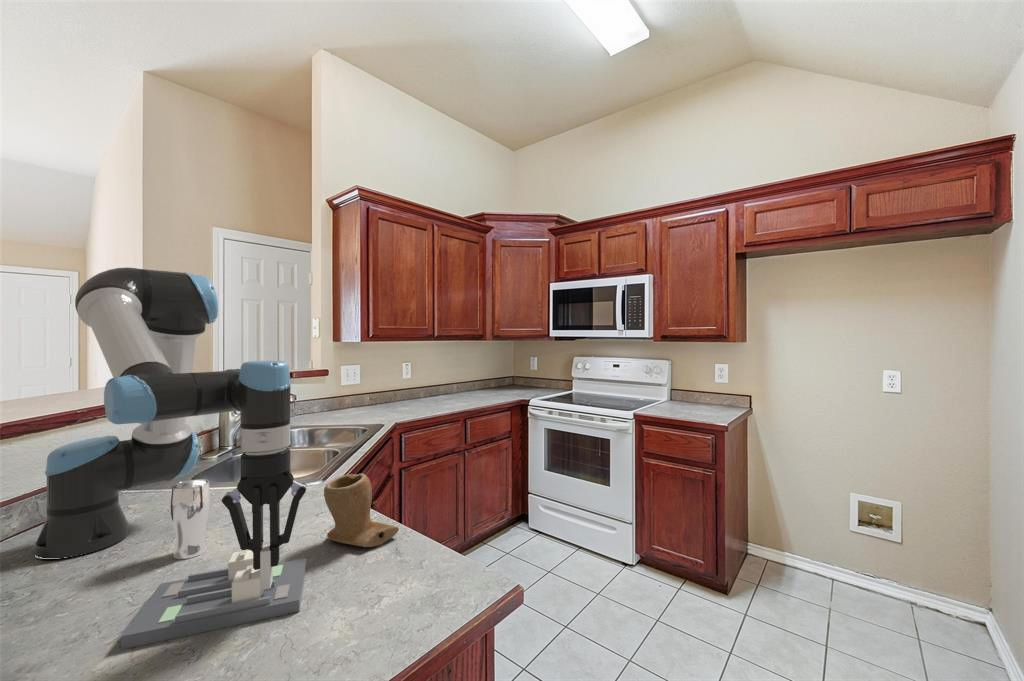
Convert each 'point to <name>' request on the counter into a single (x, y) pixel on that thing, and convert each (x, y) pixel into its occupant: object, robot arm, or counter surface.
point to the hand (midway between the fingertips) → (266, 585)
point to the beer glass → (190, 517)
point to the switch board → (212, 605)
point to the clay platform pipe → (354, 512)
